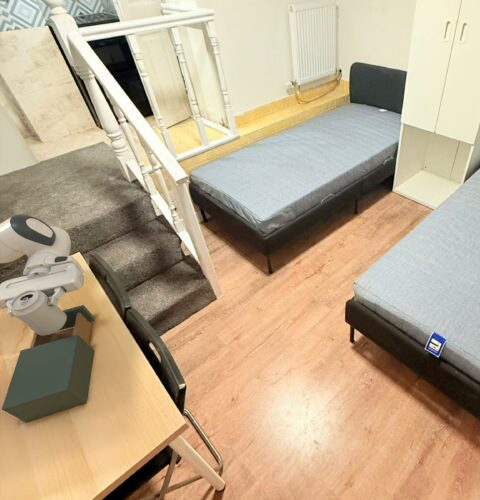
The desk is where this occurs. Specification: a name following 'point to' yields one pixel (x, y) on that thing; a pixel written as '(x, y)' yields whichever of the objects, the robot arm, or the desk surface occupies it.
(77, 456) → the desk surface
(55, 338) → the drawer
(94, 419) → the desk surface
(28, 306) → the can
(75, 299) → the desk surface
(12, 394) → the cabinet
